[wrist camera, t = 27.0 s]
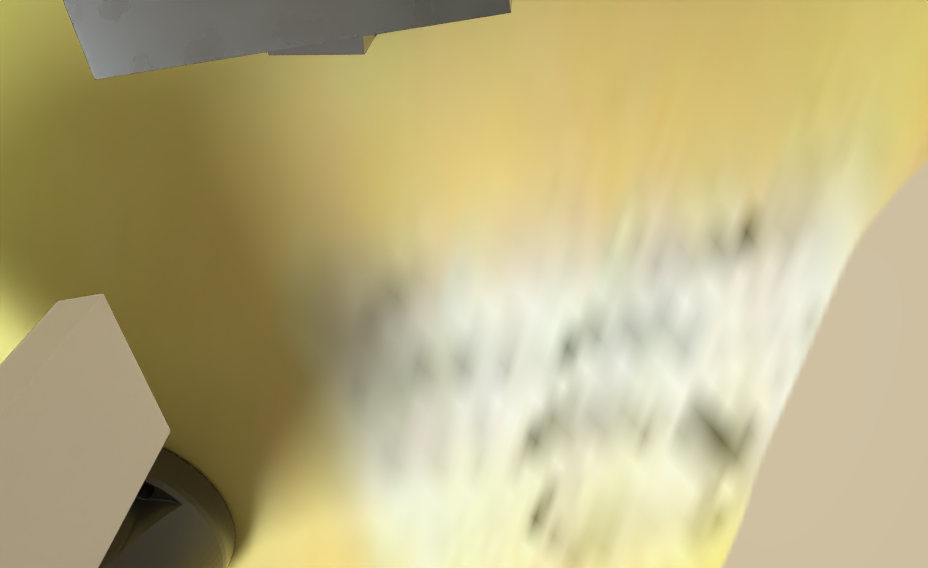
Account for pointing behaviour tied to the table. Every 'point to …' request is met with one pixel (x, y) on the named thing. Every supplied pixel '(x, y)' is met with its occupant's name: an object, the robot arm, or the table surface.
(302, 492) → the table surface
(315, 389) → the table surface
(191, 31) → the block
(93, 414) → the robot arm
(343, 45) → the bar
